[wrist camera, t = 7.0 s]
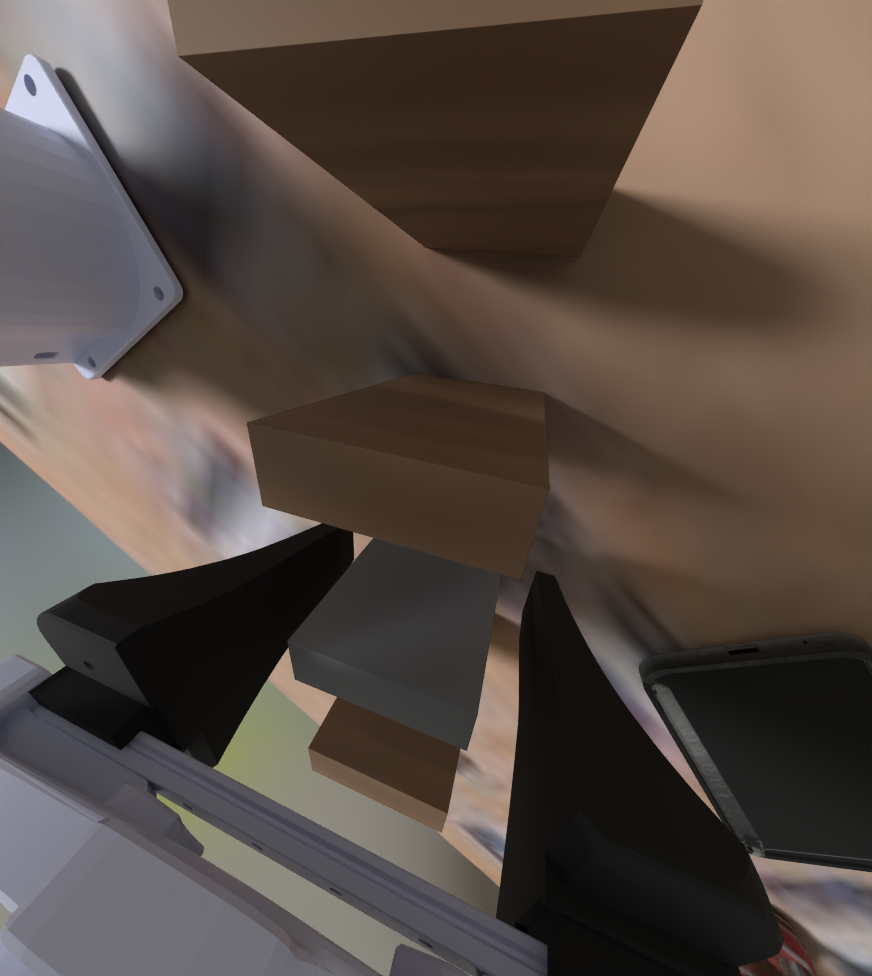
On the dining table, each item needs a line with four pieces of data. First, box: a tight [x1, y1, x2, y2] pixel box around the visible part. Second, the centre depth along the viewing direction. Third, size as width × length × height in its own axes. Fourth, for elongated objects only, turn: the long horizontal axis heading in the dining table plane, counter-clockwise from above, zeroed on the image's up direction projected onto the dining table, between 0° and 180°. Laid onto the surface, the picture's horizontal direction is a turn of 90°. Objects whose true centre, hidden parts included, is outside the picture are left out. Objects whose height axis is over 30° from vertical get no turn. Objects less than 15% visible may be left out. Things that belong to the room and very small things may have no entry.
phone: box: [639, 632, 872, 872], centre depth 14 cm, size 8×1×15 cm
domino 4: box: [308, 697, 460, 833], centre depth 13 cm, size 2×5×8 cm, turn 84°
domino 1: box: [168, 0, 703, 257], centre depth 6 cm, size 2×5×8 cm, turn 84°
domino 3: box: [287, 538, 501, 751], centre depth 11 cm, size 2×5×8 cm, turn 85°
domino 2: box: [247, 373, 549, 580], centre depth 8 cm, size 2×5×8 cm, turn 84°
